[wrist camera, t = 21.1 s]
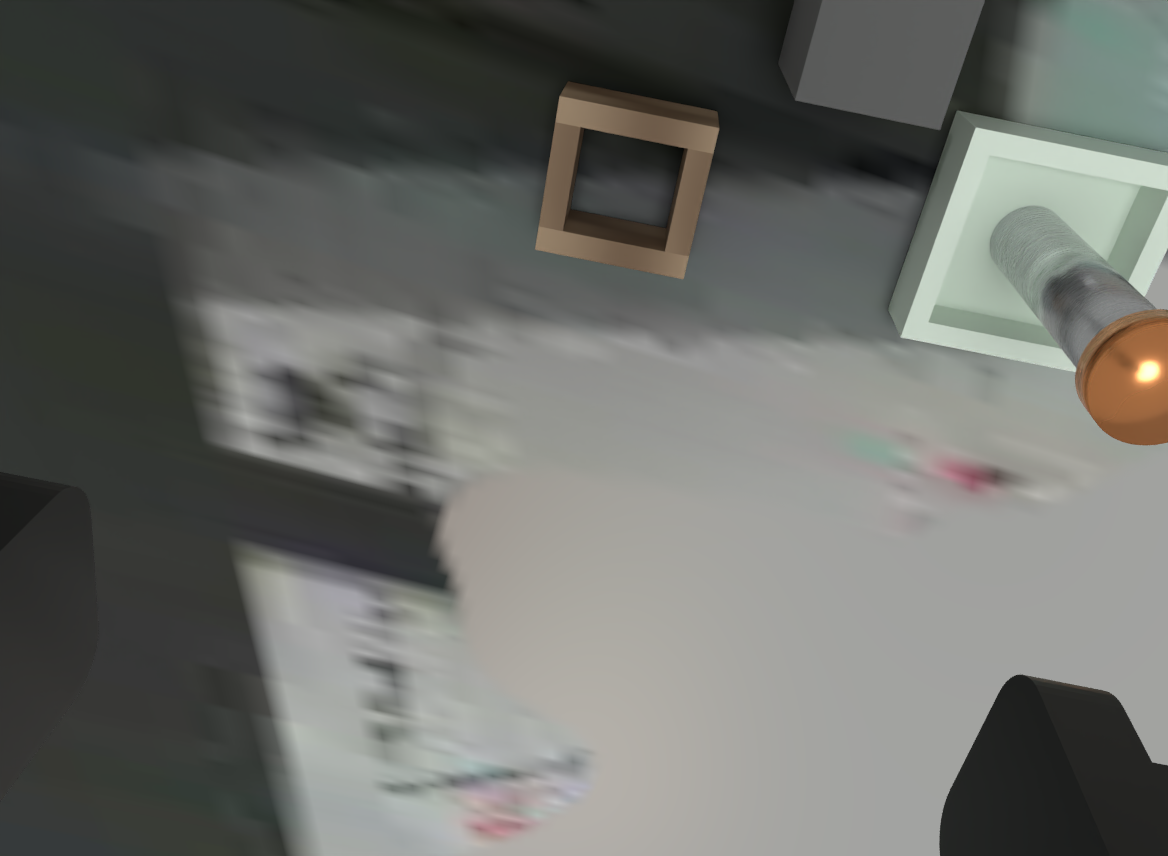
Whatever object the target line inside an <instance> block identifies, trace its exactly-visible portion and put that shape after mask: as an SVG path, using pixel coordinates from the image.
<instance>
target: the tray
mask: <svg viewBox="0 0 1168 856" xmlns="http://www.w3.org/2000/svg"><path fill="white" fill-rule="evenodd" d="M1025 206H1042V207H1045V208H1048V209H1050V210H1052V211H1053V212H1055V213H1056V214H1057V215H1058V216H1059V217H1060V218H1061V219H1062V220H1063V221H1064V222H1065V223H1066V224H1068V225H1069V226H1070V227H1071V228H1072V229H1073V230H1074V231H1075V232H1076V233H1077V234H1078V235H1079V236H1080V237H1081V238H1082V239H1083V240H1084V241H1086V242H1087V243H1088V244H1089V245H1090V246H1091V247H1092V248H1093V249H1094V250H1095V251H1096V252H1097V253H1098V254H1099V255H1100V256H1101V257H1102V258H1104V259H1105V260H1106V261H1107V262H1108V263H1109V264H1110V265H1111V266H1112V267H1113V268H1114V269H1115V270H1116V271H1117V272H1118V273H1119V274H1120V275H1121V276H1123V277H1124V278H1125V279H1126V280H1127V281H1128V282H1129V283H1130V284H1131V285H1132V286H1133V287H1134V288H1135V289H1136V290H1137V291H1138V292H1139V293H1141V294H1142V295H1143V296H1144V297H1145V295H1146V293H1147V291H1148V288H1149V286H1150V284H1151V282H1152V280H1153V278H1154V276H1155V274H1156V272H1157V270H1158V268H1159V265H1160V263H1161V261H1162V259H1163V257H1164V255H1165V253H1166V251H1167V249H1168V153H1166V152H1161V151H1156V150H1151V149H1146V148H1141V147H1136V146H1131V145H1126V144H1121V143H1116V142H1111V141H1106V140H1101V139H1096V138H1091V137H1087V136H1082V135H1077V134H1072V133H1067V132H1062V131H1057V130H1052V129H1047V128H1042V127H1037V126H1032V125H1027V124H1022V123H1017V122H1012V121H1007V120H1002V119H997V118H992V117H987V116H982V115H977V114H972V113H967V112H962V111H956V114H955V117H954V120H953V123H952V126H951V129H950V131H949V134H948V137H947V140H946V143H945V146H944V149H943V152H942V155H941V157H940V160H939V163H938V166H937V169H936V172H935V175H934V178H933V180H932V183H931V186H930V189H929V192H928V195H927V198H926V201H925V204H924V206H923V209H922V212H921V215H920V218H919V221H918V224H917V227H916V230H915V232H914V235H913V238H912V241H911V244H910V247H909V250H908V253H907V256H906V258H905V261H904V264H903V267H902V270H901V273H900V276H899V279H898V281H897V284H896V287H895V290H894V293H893V296H892V299H891V302H890V305H889V307H888V310H889V313H890V315H891V317H892V319H893V321H894V324H895V326H896V328H897V330H898V332H899V335H900V337H902V338H907V339H912V340H917V341H922V342H927V343H932V344H937V345H942V346H947V347H952V348H957V349H962V350H967V351H972V352H977V353H982V354H987V355H992V356H997V357H1002V358H1007V359H1012V360H1017V361H1022V362H1027V363H1032V364H1037V365H1042V366H1047V367H1052V368H1057V369H1062V370H1067V371H1072V372H1076V367H1075V366H1074V365H1073V363H1072V362H1071V361H1070V359H1069V358H1068V357H1067V356H1066V354H1065V353H1064V352H1063V350H1062V349H1061V348H1060V347H1059V345H1058V344H1057V343H1056V341H1055V340H1054V339H1053V337H1052V336H1051V335H1050V334H1049V332H1048V331H1047V330H1046V328H1045V327H1044V326H1043V325H1042V323H1041V322H1040V321H1039V319H1038V318H1037V317H1036V315H1035V314H1034V313H1033V312H1032V310H1031V309H1030V308H1029V306H1028V305H1027V304H1026V303H1025V301H1024V300H1023V299H1022V297H1021V296H1020V295H1019V293H1018V292H1017V291H1016V290H1015V288H1014V287H1013V286H1012V284H1011V283H1010V282H1009V281H1008V279H1007V278H1006V277H1005V275H1004V274H1003V273H1002V271H1001V270H1000V269H999V268H998V266H997V265H996V264H995V262H994V261H993V259H992V257H991V253H990V238H991V235H992V233H993V230H994V229H995V227H996V225H997V224H998V223H999V222H1000V220H1001V219H1002V218H1003V217H1005V216H1006V215H1007V214H1009V213H1010V212H1012V211H1014V210H1016V209H1018V208H1021V207H1025Z"/></svg>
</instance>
